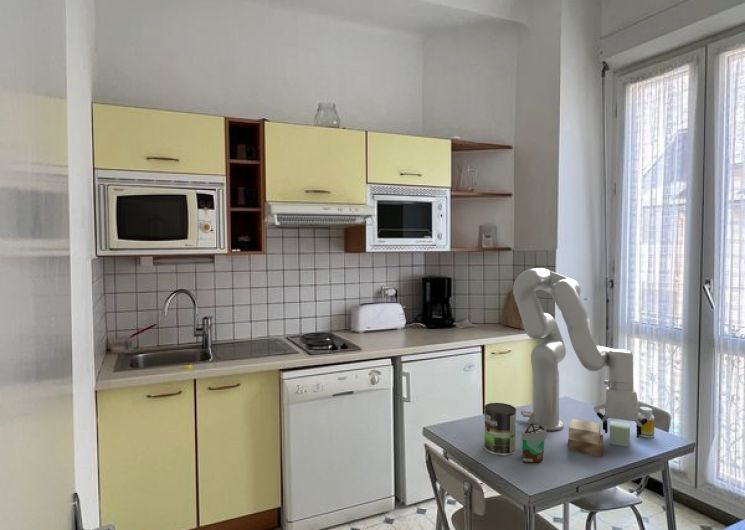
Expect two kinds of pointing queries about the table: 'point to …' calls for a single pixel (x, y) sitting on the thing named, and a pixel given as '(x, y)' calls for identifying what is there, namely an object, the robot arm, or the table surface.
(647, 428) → the supplement bottle
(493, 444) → the coffee can
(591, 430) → the maple block
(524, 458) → the food container
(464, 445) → the table surface
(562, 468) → the table surface
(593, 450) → the walnut block
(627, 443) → the sage block
